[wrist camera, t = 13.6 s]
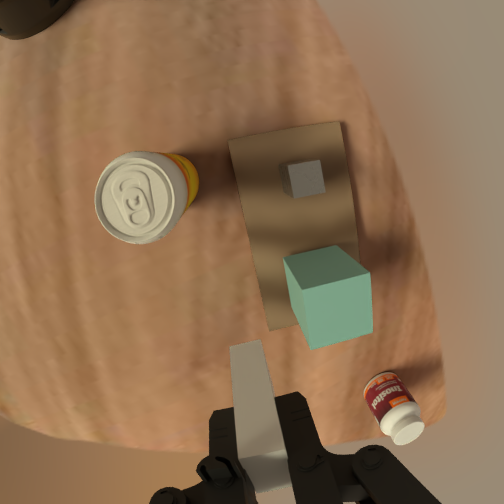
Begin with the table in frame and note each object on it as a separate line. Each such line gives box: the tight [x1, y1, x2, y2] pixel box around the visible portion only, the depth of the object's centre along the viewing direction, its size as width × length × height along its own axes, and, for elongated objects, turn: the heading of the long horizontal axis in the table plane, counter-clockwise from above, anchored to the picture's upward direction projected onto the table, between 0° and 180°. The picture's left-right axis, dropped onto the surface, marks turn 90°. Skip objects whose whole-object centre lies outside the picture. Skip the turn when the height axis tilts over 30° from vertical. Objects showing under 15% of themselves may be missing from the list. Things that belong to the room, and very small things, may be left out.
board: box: [227, 121, 361, 331], centre depth 35 cm, size 22×12×1 cm, turn 12°
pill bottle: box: [364, 372, 424, 445], centre depth 38 cm, size 6×6×11 cm
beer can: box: [95, 151, 199, 244], centre depth 26 cm, size 6×6×15 cm
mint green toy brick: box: [283, 245, 373, 350], centre depth 31 cm, size 6×6×9 cm
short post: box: [278, 159, 326, 199], centre depth 30 cm, size 3×3×5 cm
